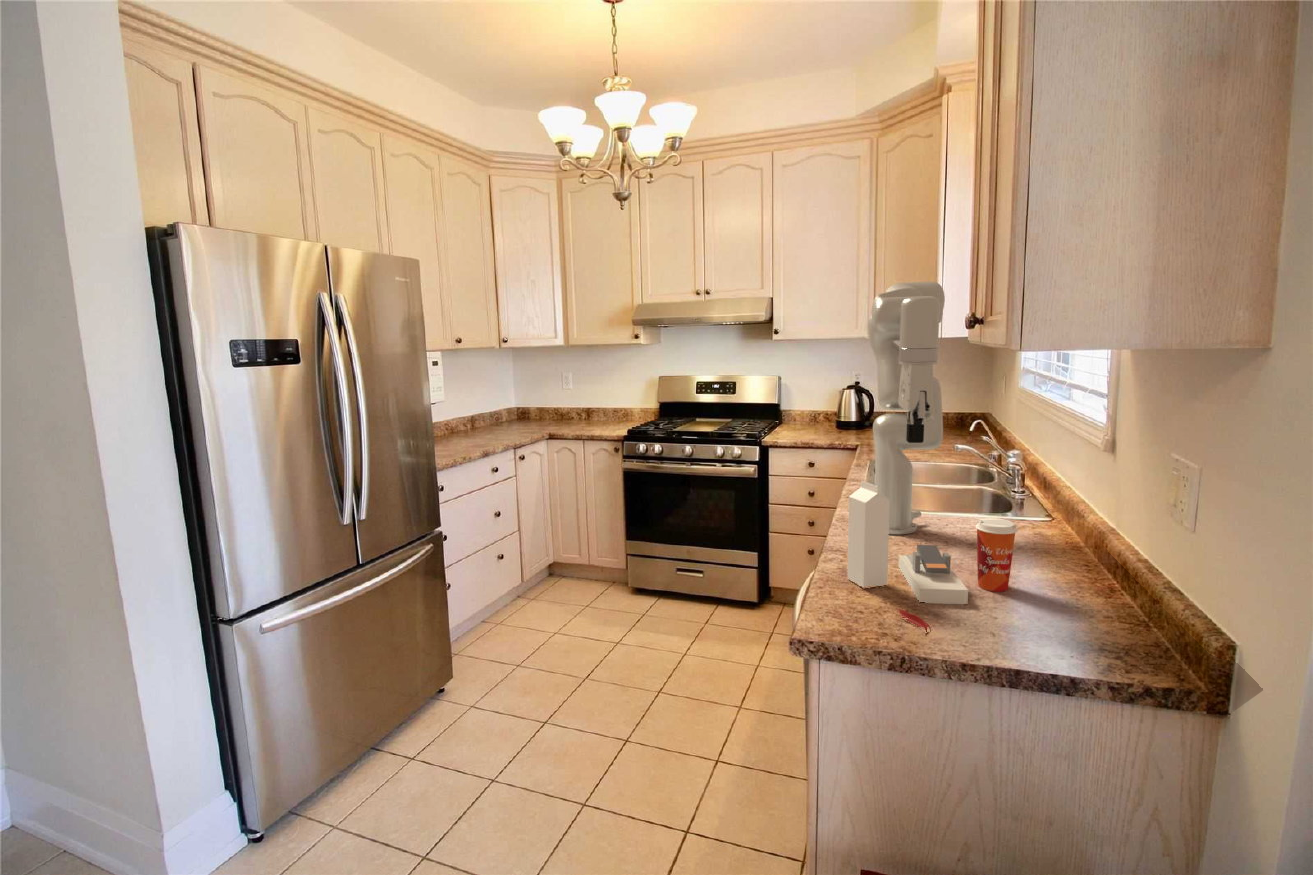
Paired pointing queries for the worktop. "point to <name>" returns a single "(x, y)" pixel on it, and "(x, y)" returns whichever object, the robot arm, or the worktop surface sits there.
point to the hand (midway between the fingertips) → (914, 441)
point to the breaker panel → (933, 581)
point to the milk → (868, 536)
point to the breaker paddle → (931, 559)
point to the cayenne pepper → (914, 619)
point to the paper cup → (994, 553)
